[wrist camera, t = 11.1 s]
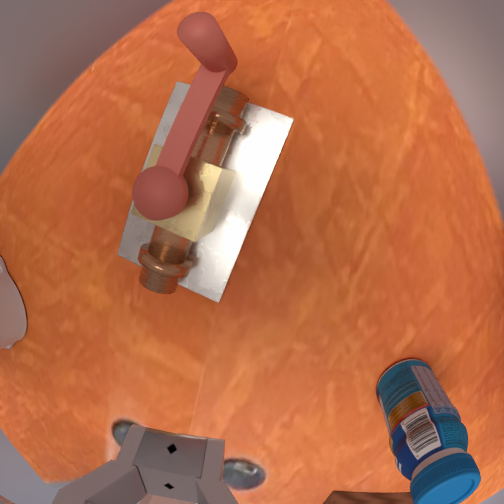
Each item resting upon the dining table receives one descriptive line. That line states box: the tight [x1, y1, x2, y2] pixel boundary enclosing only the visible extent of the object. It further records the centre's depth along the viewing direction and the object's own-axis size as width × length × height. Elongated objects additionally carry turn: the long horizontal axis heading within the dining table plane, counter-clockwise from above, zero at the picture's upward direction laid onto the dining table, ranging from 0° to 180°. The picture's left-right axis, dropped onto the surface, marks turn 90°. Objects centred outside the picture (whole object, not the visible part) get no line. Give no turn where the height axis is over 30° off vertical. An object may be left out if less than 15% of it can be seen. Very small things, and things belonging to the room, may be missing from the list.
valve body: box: [117, 81, 294, 303], centre depth 31 cm, size 22×14×9 cm, turn 158°
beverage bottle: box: [376, 359, 481, 504], centre depth 27 cm, size 8×8×20 cm
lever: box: [133, 12, 237, 221], centre depth 21 cm, size 16×4×7 cm, turn 155°
